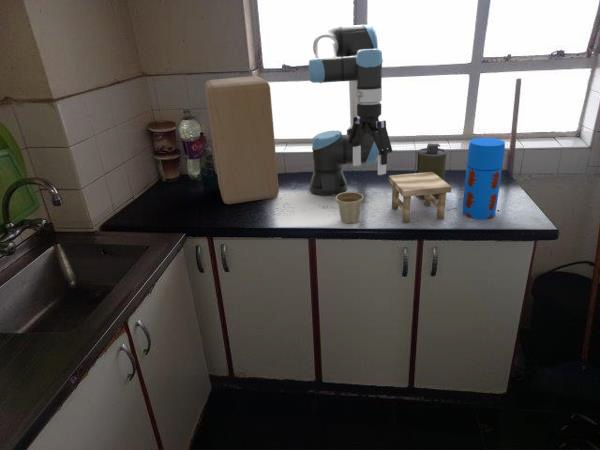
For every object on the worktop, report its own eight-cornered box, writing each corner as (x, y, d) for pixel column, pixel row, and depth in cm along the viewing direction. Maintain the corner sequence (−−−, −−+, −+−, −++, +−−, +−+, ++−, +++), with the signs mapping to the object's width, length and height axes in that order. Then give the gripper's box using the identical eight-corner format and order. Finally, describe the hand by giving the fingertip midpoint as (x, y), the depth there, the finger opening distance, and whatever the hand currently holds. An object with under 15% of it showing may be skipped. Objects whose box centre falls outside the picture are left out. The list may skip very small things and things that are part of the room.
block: (280, 198, 174) (270, 80, 155) (223, 207, 170) (206, 86, 151) (270, 181, 194) (260, 74, 175) (219, 188, 190) (203, 79, 171)
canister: (440, 190, 172) (444, 140, 164) (445, 200, 163) (450, 147, 155) (412, 191, 174) (414, 141, 165) (415, 200, 164) (418, 148, 156)
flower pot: (332, 224, 150) (331, 200, 146) (340, 213, 158) (340, 190, 154) (359, 227, 146) (359, 203, 143) (366, 216, 154) (366, 193, 151)
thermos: (479, 222, 144) (488, 148, 134) (455, 211, 153) (461, 141, 143) (502, 214, 149) (513, 142, 138) (477, 205, 157) (485, 136, 147)
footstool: (388, 206, 161) (388, 175, 155) (430, 202, 162) (432, 171, 157) (401, 224, 146) (403, 191, 141) (448, 220, 147) (451, 186, 142)
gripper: (337, 100, 144) (338, 164, 152) (384, 107, 123) (383, 180, 131) (356, 98, 147) (356, 160, 155) (405, 104, 126) (403, 176, 134)
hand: (368, 169), depth 143 cm, fingers open, 13 cm apart
